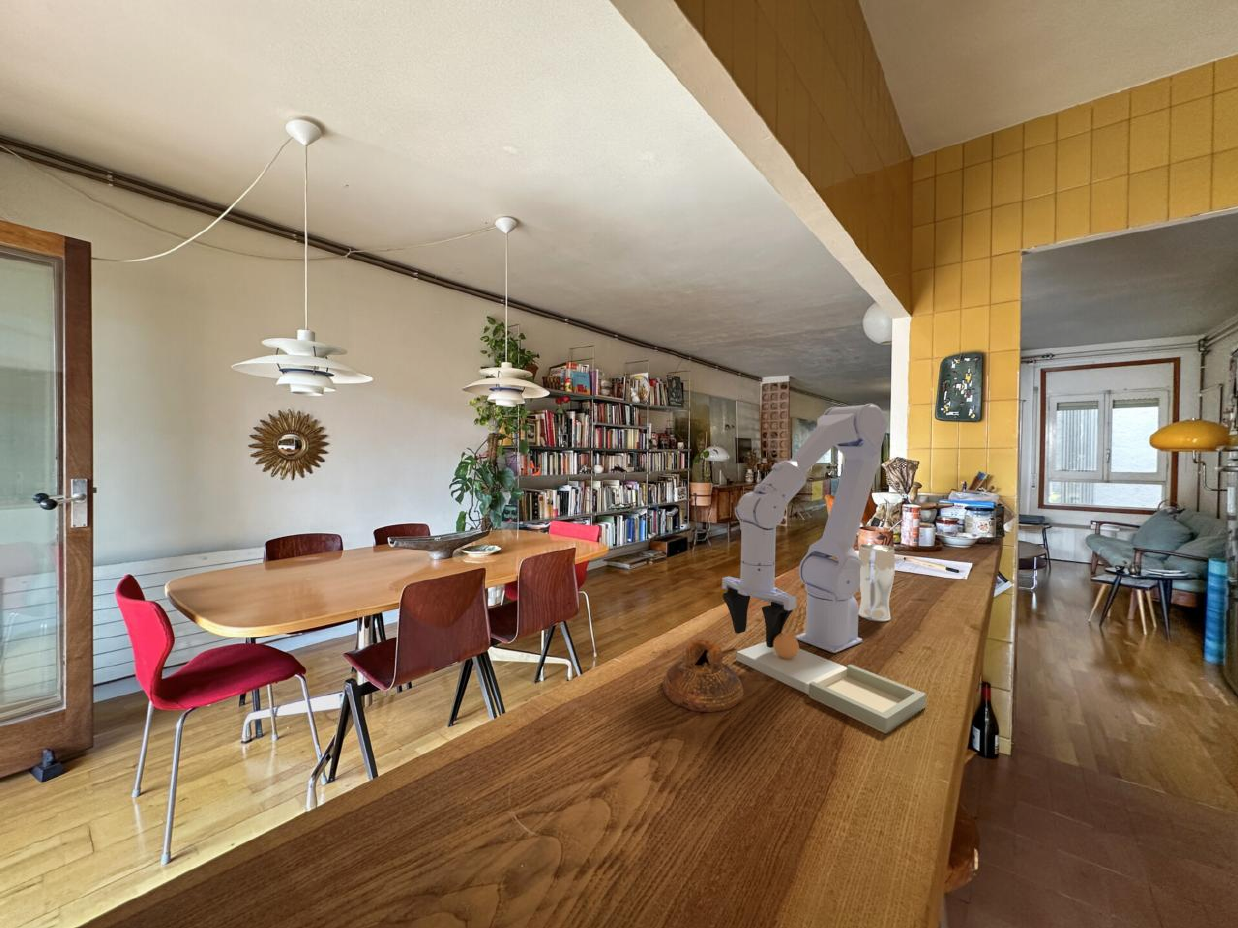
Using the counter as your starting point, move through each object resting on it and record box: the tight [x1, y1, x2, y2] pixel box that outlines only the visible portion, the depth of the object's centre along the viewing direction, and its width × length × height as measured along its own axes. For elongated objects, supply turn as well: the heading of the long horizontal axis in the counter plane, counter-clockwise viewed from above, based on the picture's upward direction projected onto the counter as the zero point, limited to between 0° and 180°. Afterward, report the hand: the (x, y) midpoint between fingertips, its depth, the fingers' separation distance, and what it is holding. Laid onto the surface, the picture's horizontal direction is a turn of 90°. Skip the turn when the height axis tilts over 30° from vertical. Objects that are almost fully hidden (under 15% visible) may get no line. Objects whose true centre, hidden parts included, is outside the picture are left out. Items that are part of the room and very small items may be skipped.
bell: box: [662, 639, 744, 713], centre depth 73 cm, size 12×12×7 cm
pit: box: [808, 663, 927, 735], centre depth 70 cm, size 11×11×2 cm
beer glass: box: [858, 543, 896, 622], centre depth 105 cm, size 7×7×15 cm
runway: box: [736, 641, 847, 696], centre depth 80 cm, size 10×14×2 cm
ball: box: [773, 632, 800, 659], centre depth 81 cm, size 4×4×4 cm
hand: (755, 638), depth 86 cm, fingers open, 6 cm apart
